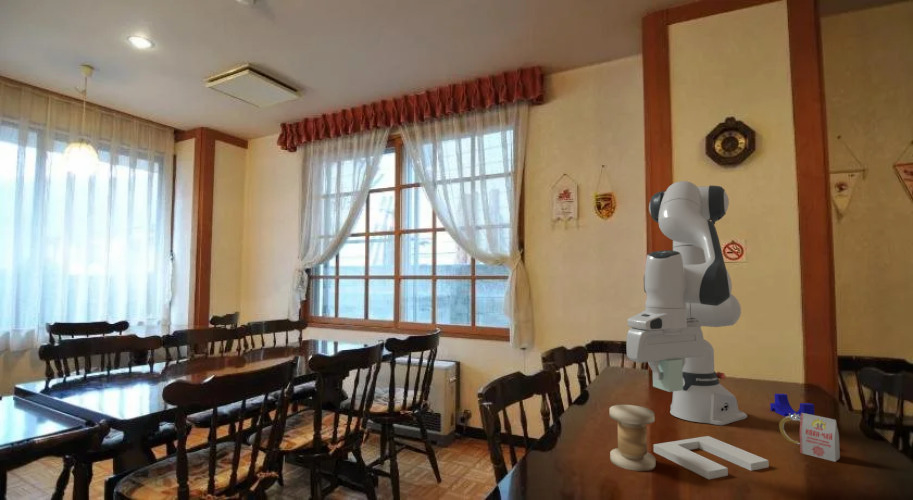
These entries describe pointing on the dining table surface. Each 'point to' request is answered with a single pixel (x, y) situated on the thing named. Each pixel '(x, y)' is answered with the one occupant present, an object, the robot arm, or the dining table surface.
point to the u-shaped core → (702, 465)
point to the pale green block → (670, 375)
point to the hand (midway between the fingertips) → (667, 378)
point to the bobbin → (632, 437)
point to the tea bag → (819, 437)
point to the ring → (787, 418)
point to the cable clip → (784, 407)
